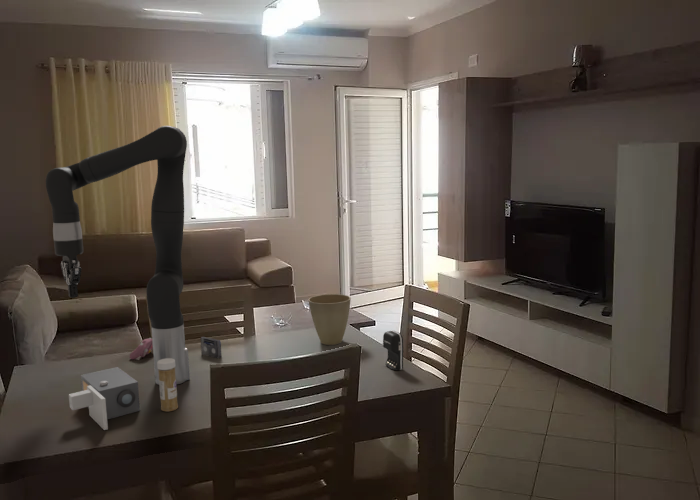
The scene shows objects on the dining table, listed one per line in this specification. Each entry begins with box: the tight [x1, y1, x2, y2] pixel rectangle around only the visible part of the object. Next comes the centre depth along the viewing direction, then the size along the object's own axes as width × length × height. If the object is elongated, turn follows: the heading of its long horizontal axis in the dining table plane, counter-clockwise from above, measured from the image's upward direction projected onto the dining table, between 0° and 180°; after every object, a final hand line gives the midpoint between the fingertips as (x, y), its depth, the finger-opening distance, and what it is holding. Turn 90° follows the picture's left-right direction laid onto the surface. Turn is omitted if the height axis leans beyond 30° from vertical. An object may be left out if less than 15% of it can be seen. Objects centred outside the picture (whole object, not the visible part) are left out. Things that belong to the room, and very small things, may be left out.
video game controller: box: [129, 337, 153, 360], centre depth 215 cm, size 10×5×7 cm, turn 170°
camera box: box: [80, 366, 141, 420], centre depth 170 cm, size 10×17×9 cm, turn 38°
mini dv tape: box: [200, 336, 223, 359], centre depth 213 cm, size 8×2×6 cm, turn 54°
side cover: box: [68, 385, 109, 431], centre depth 159 cm, size 6×12×8 cm, turn 38°
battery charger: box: [382, 330, 404, 371], centre depth 196 cm, size 7×4×11 cm, turn 27°
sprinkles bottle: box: [157, 358, 179, 412], centre depth 168 cm, size 5×5×14 cm
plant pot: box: [307, 293, 352, 346], centre depth 224 cm, size 15×15×16 cm
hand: (73, 297), depth 184 cm, fingers closed
